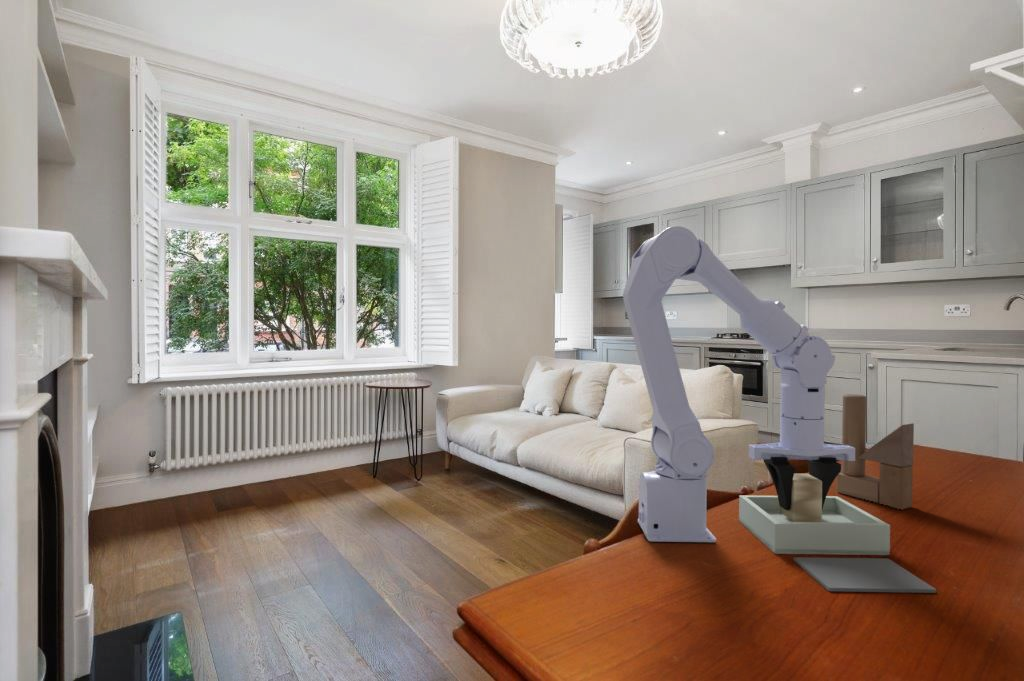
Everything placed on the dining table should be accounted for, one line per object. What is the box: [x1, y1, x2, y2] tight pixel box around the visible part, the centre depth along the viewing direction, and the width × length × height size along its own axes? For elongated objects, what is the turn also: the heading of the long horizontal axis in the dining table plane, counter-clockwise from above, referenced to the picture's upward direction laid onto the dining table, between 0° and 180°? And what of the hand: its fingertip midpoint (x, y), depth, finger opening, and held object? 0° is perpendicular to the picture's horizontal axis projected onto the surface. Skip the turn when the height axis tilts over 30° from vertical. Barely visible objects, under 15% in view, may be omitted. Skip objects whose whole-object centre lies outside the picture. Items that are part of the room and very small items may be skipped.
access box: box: [738, 494, 891, 556], centre depth 76 cm, size 15×12×4 cm
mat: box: [793, 556, 937, 594], centre depth 64 cm, size 12×8×1 cm, turn 88°
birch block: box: [780, 472, 822, 522], centre depth 78 cm, size 4×4×6 cm
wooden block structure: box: [836, 393, 915, 511], centre depth 92 cm, size 4×11×18 cm, turn 27°
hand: (800, 507), depth 78 cm, fingers closed on birch block, 4 cm apart
